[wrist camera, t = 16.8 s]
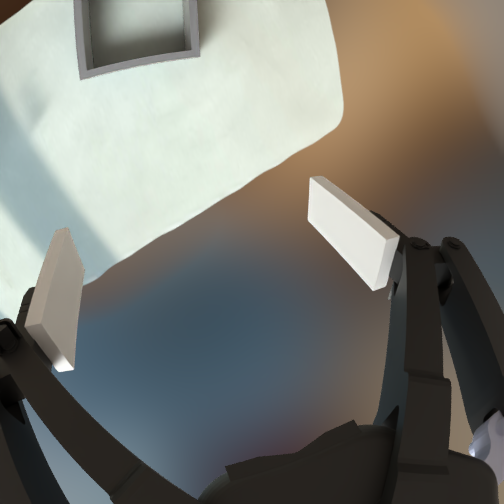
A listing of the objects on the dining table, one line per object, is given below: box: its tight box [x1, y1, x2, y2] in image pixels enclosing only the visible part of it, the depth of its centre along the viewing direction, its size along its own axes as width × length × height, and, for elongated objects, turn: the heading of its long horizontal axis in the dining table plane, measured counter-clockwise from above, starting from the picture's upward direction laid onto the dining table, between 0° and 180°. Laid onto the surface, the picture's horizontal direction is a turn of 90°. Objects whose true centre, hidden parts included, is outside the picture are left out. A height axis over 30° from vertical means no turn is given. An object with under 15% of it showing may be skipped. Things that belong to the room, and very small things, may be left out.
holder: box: [74, 0, 200, 80], centre depth 28 cm, size 15×15×6 cm
